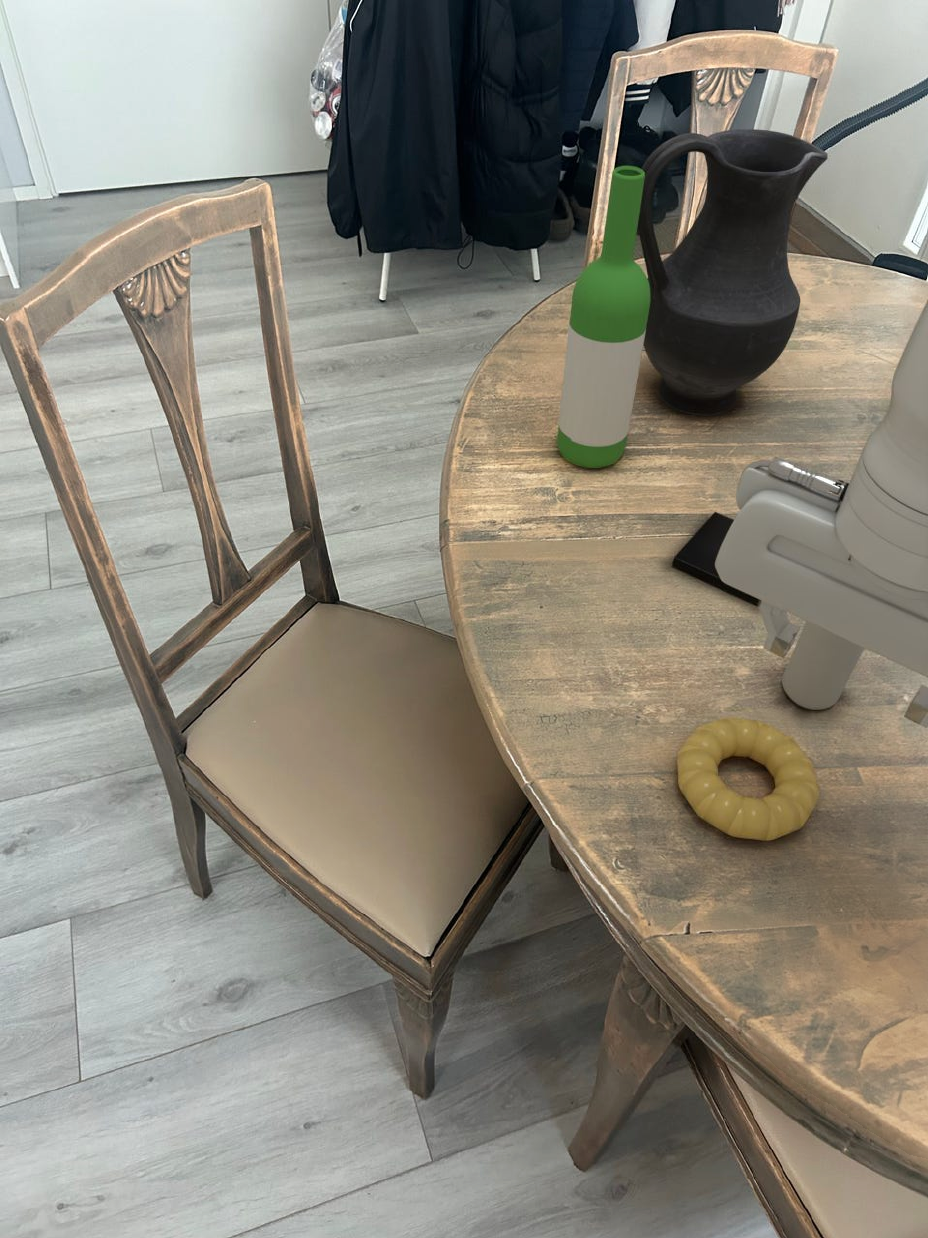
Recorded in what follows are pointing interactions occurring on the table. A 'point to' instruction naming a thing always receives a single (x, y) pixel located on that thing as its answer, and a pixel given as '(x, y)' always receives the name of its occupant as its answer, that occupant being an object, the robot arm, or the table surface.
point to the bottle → (606, 336)
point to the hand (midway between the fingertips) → (845, 681)
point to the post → (708, 555)
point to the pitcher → (725, 267)
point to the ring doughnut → (732, 809)
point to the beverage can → (819, 668)
